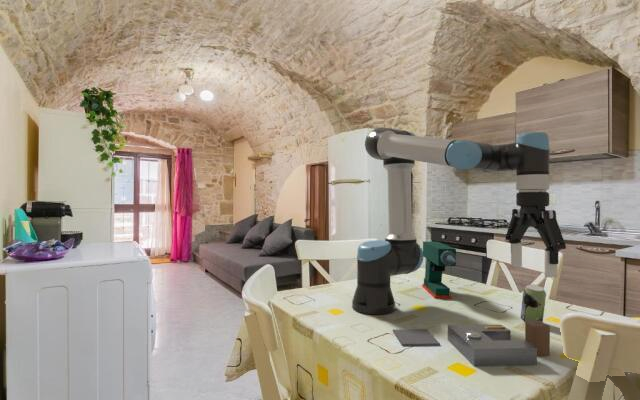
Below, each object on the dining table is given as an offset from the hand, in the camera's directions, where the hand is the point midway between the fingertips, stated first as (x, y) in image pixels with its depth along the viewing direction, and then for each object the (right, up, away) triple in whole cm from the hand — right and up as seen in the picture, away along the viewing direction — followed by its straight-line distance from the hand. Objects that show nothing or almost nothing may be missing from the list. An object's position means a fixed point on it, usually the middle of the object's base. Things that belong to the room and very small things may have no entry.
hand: (532, 271), depth 94 cm
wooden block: (-2, -20, -5) cm, 21 cm away
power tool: (-8, -20, +46) cm, 51 cm away
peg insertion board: (-14, -19, -4) cm, 24 cm away
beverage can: (+10, -20, +17) cm, 28 cm away
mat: (-30, -20, +4) cm, 36 cm away
